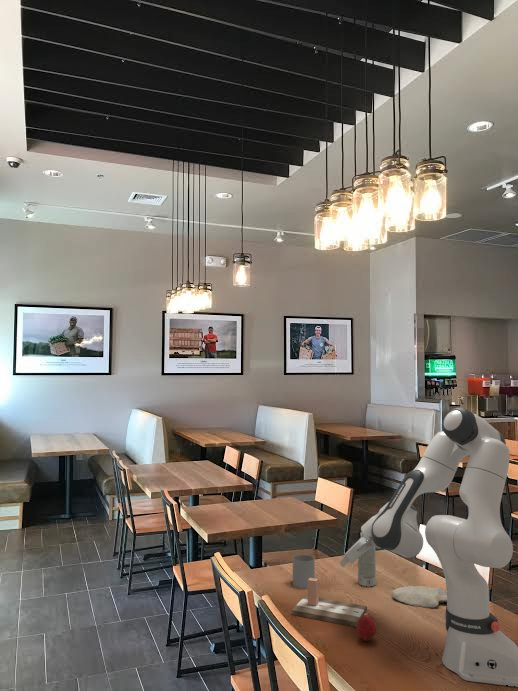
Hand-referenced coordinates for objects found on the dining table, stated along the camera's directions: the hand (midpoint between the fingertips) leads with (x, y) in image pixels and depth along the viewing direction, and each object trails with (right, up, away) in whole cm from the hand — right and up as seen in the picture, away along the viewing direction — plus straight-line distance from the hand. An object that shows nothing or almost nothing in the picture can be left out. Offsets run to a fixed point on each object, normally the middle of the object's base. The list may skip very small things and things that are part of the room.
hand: (345, 560), depth 184 cm
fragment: (+29, -20, +12) cm, 37 cm away
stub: (-11, -16, +3) cm, 20 cm away
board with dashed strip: (-5, -18, +1) cm, 19 cm away
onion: (+3, -17, -19) cm, 26 cm away
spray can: (+13, -20, +28) cm, 37 cm away
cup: (-12, -20, +27) cm, 36 cm away
